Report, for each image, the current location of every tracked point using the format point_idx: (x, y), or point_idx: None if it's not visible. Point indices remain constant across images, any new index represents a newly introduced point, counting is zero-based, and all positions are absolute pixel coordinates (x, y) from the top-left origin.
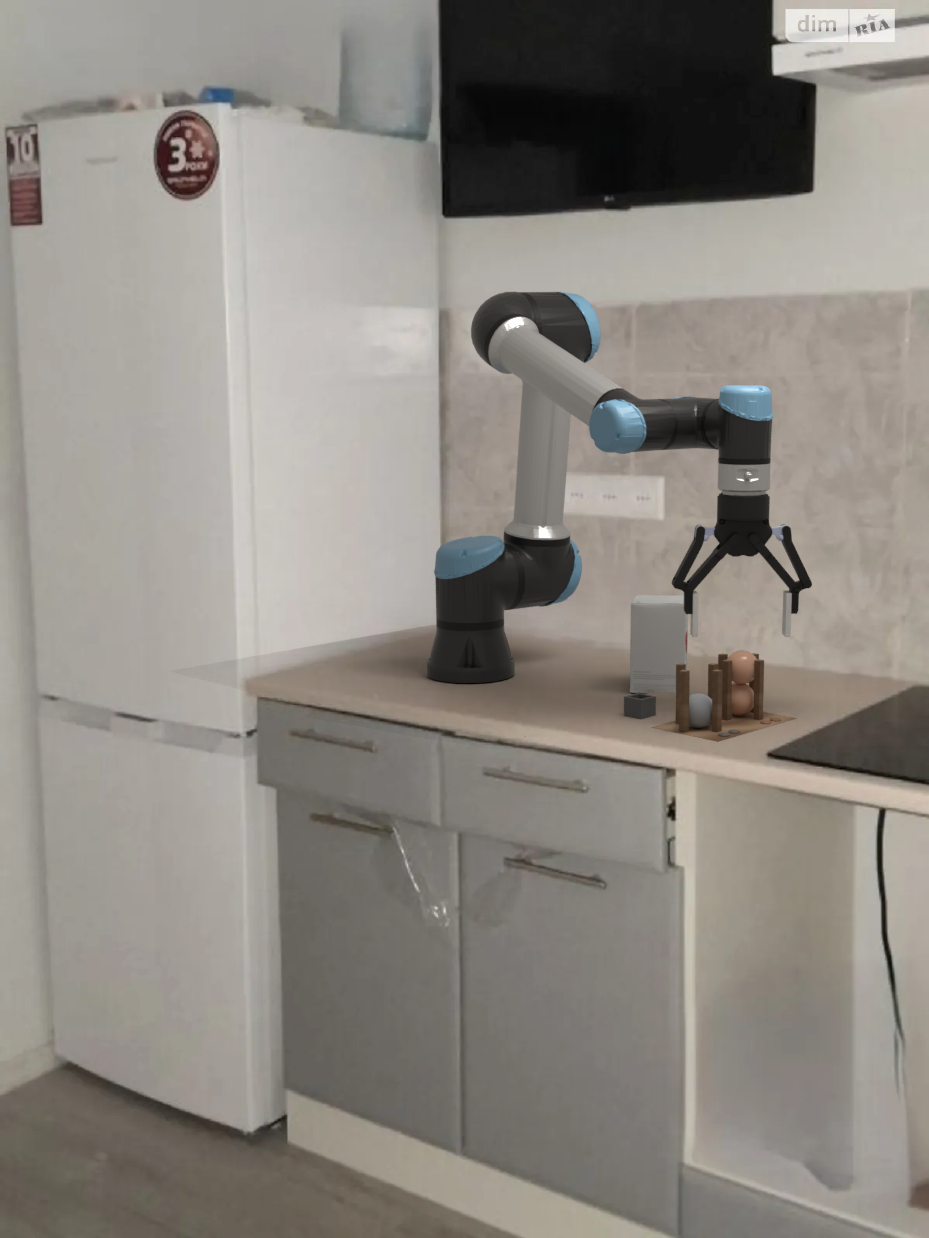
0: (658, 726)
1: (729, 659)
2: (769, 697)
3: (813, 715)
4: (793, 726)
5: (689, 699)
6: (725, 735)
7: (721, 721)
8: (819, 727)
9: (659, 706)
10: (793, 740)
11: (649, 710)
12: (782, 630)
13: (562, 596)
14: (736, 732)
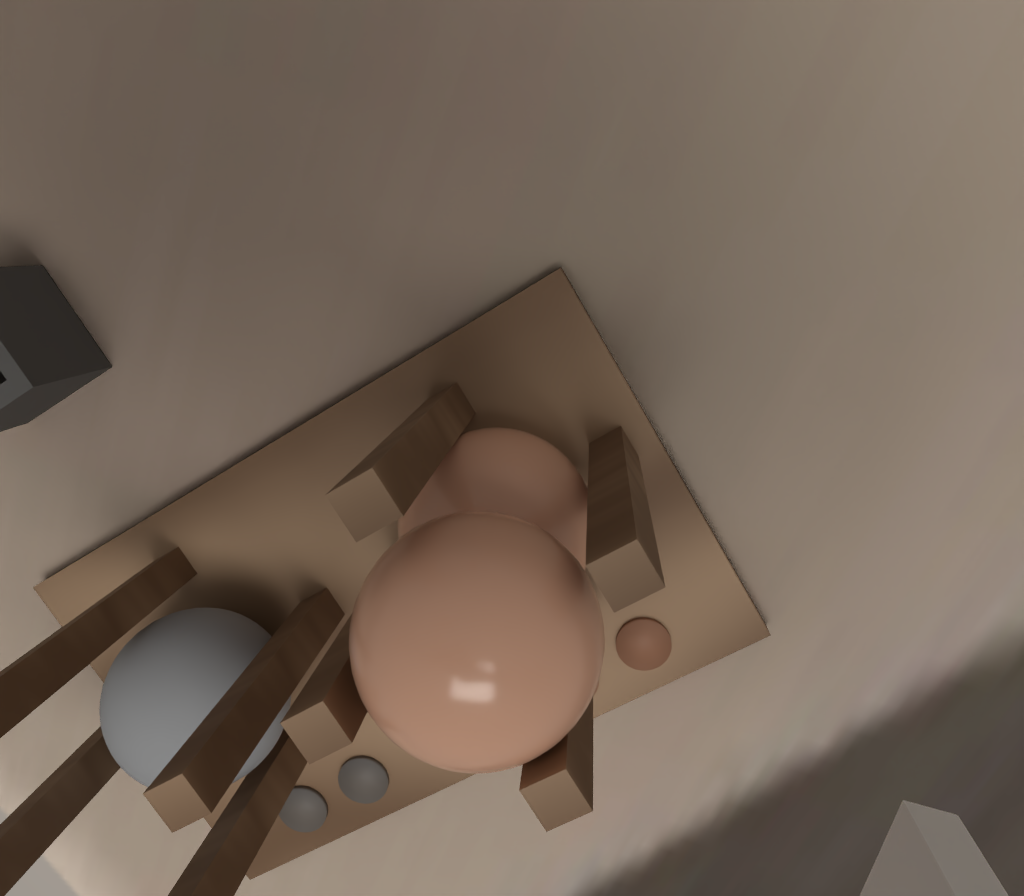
0: (65, 585)
1: (356, 677)
2: (937, 8)
3: (928, 523)
4: (708, 690)
5: (110, 748)
6: (300, 832)
7: (299, 774)
8: (817, 742)
9: (197, 75)
10: (588, 891)
11: (38, 403)
12: (911, 842)
13: None
14: (365, 802)
